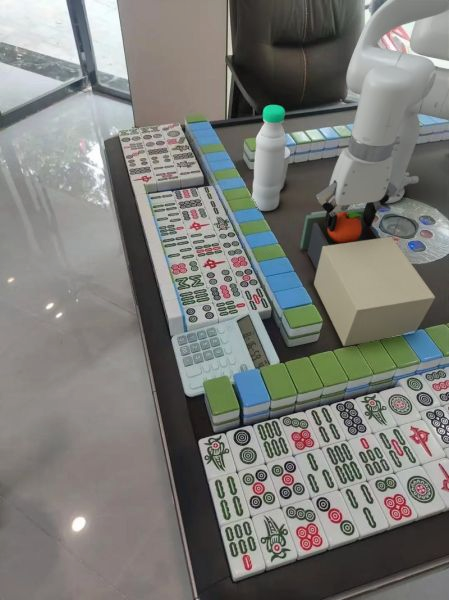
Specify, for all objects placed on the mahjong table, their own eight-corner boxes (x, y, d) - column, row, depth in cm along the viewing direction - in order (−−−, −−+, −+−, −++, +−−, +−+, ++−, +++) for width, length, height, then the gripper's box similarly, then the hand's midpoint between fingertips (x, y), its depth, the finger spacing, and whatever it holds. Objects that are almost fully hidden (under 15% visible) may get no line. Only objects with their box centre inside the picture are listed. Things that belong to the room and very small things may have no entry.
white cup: (255, 177, 120) (257, 144, 112) (283, 176, 120) (287, 142, 113) (258, 194, 114) (261, 160, 107) (288, 192, 115) (293, 159, 107)
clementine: (349, 228, 96) (358, 201, 91) (367, 247, 91) (377, 219, 86) (318, 235, 94) (325, 207, 88) (334, 255, 89) (343, 226, 84)
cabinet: (313, 283, 93) (322, 246, 85) (377, 274, 95) (391, 236, 87) (343, 346, 82) (357, 310, 74) (414, 334, 84) (435, 297, 76)
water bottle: (276, 214, 109) (289, 117, 90) (249, 210, 110) (255, 113, 91) (280, 198, 113) (292, 102, 95) (253, 194, 114) (260, 99, 95)
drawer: (294, 234, 102) (299, 203, 95) (347, 227, 104) (356, 196, 97) (324, 295, 89) (332, 264, 83) (384, 285, 91) (397, 254, 85)
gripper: (405, 130, 79) (378, 209, 93) (316, 139, 77) (301, 219, 90) (426, 151, 74) (395, 231, 88) (331, 162, 72) (314, 242, 85)
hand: (348, 224), depth 89 cm, fingers closed on clementine, 7 cm apart
